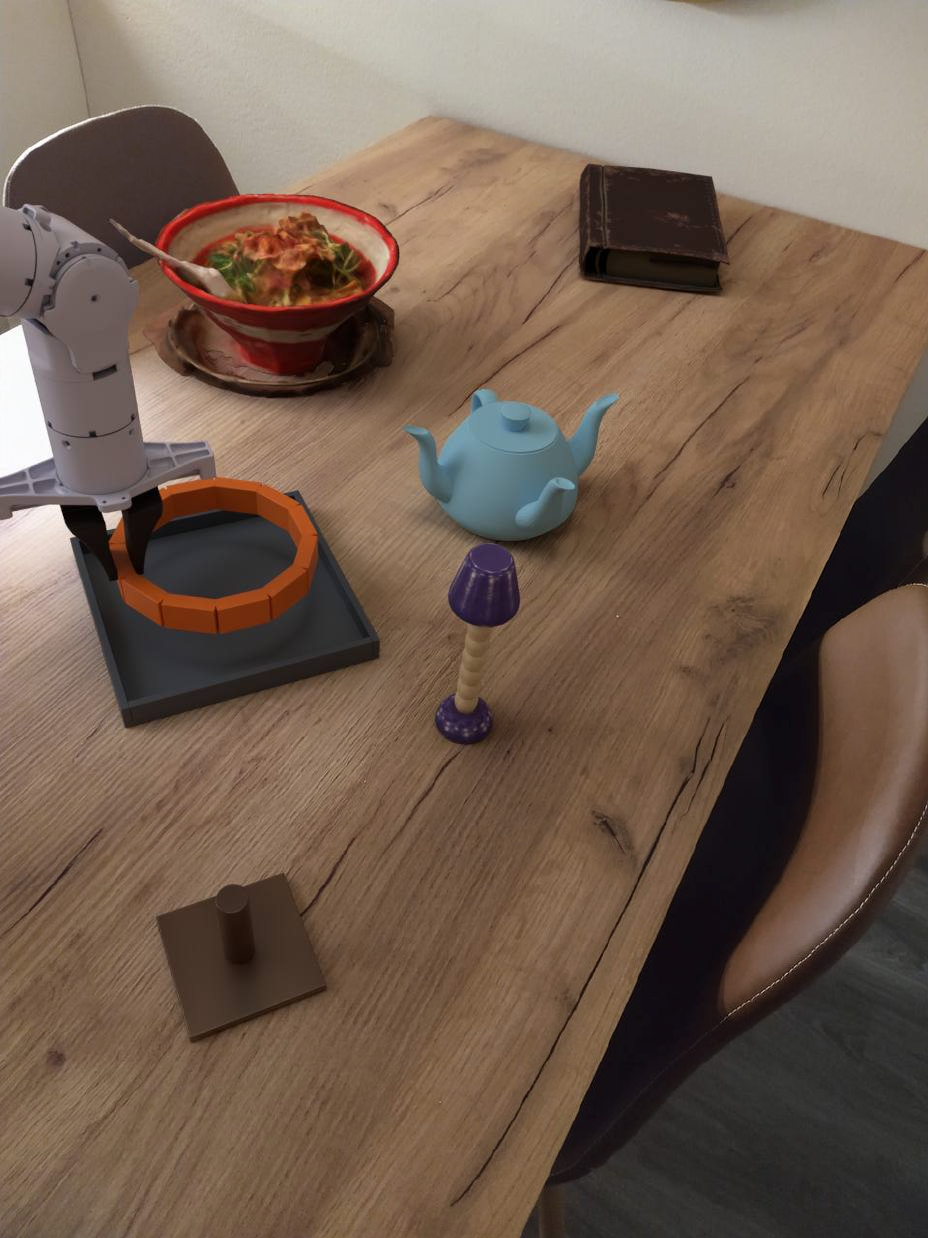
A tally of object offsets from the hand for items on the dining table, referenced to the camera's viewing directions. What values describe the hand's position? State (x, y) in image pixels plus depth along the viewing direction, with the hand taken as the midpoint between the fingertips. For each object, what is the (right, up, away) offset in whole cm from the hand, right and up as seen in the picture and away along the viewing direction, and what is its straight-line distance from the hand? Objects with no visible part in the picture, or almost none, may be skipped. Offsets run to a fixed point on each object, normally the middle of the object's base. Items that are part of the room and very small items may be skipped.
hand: (123, 569), depth 75 cm
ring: (+6, +1, +3) cm, 7 cm away
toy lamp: (+25, -11, 0) cm, 27 cm away
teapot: (+29, +6, +18) cm, 34 cm away
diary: (+49, +46, +60) cm, 90 cm away
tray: (+6, -3, +7) cm, 9 cm away
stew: (+4, +24, +33) cm, 42 cm away
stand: (+12, -24, -14) cm, 30 cm away
